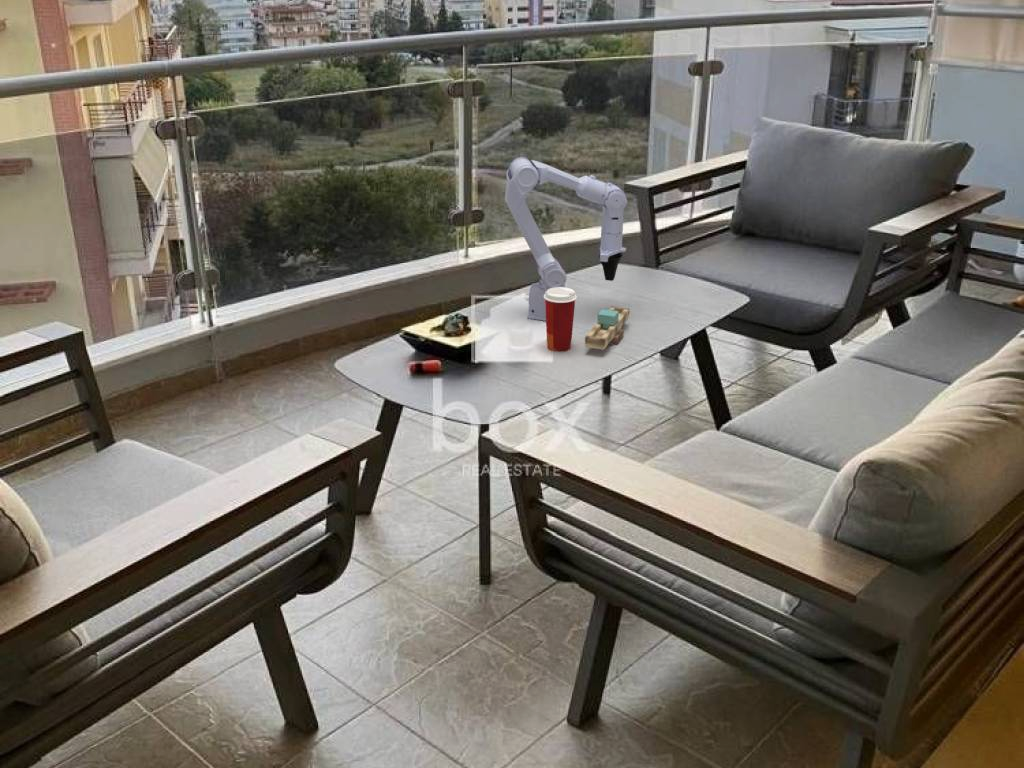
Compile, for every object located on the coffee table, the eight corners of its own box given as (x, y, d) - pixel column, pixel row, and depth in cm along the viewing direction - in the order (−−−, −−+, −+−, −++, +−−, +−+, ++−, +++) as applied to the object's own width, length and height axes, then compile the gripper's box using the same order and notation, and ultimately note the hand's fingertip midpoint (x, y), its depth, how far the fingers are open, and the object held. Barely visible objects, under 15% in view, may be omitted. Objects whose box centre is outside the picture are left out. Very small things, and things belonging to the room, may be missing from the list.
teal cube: (613, 330, 260) (614, 316, 258) (597, 328, 261) (597, 314, 259) (618, 325, 263) (618, 311, 261) (601, 322, 264) (602, 309, 263)
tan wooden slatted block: (607, 357, 252) (608, 340, 250) (580, 353, 255) (581, 336, 253) (632, 325, 273) (633, 309, 271) (607, 321, 275) (607, 305, 273)
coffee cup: (580, 345, 260) (582, 289, 253) (565, 355, 253) (567, 299, 247) (551, 338, 263) (553, 284, 257) (536, 349, 257) (537, 293, 251)
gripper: (619, 240, 263) (616, 289, 269) (633, 226, 276) (630, 273, 281) (593, 237, 265) (591, 286, 271) (608, 223, 278) (606, 270, 283)
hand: (609, 279), depth 276 cm, fingers closed
